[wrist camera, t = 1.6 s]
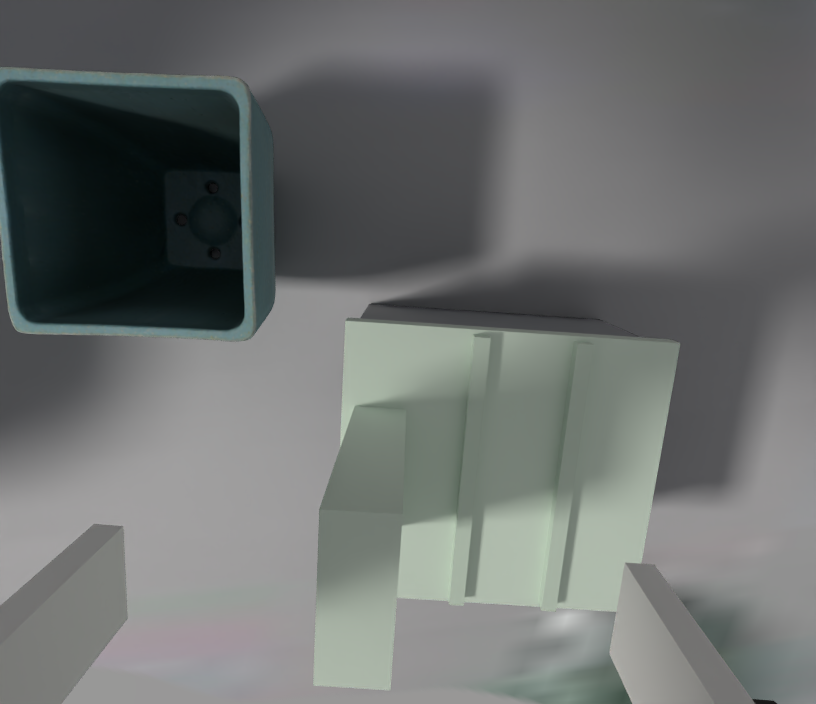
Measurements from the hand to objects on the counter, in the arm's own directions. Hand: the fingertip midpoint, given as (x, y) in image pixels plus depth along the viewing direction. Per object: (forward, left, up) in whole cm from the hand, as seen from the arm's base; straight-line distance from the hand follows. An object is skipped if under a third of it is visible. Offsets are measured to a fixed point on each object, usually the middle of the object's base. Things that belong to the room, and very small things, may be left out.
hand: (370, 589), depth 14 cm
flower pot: (-9, +9, -15) cm, 20 cm away
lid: (+4, 0, -8) cm, 9 cm away
